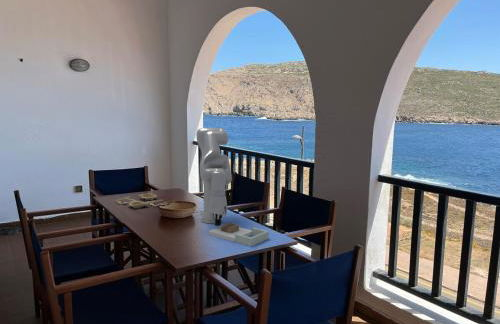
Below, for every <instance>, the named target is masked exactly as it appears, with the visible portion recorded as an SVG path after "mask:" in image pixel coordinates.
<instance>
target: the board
mask: <svg viewBox="0 0 500 324" xmlns="http://www.w3.org/2000/svg"><path fill="white" fill-rule="evenodd" d="M235 234H240V235H243V236H247V237H250V236H253V235H252V229H247V228H243V227H240V226H239V230H238V231H236V232H233V233H227V232H224V231H221V226H218V227H216V228H213V229H212V230H211V229H210V230H209V231H208V235H210V236H213V237H216V238H220V239H224V240H226V241H230V242H233V243H236V242H235Z"/></svg>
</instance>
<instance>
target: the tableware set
mask: <svg viewBox="0 0 500 324" xmlns="http://www.w3.org/2000/svg"><path fill="white" fill-rule="evenodd" d="M138 196H139V197H141V199H143V200H144V199H145V200H144V201H140V200H136V199H131V197H128V196H126V197H124V198H120V199H116V200H115V202H116V204H118V205H129V206H130V207H133V208H132V209H142V208H143V207H144V206H146V205H148V204H149V205H150V206H151V205H152V206H151V207H159V206H158V205H159V204H158V205H154V204H153V203H154V202H159V201H164V200H163V199H157V200H151V199H155V198H157V196H158V195H157V194H154V192H148V193H142V194H138ZM124 200H132V201H130V202H124V203H121V201H124ZM146 200H151V201H146ZM141 207H142V208H141Z"/></svg>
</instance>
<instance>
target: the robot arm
mask: <svg viewBox="0 0 500 324" xmlns="http://www.w3.org/2000/svg"><path fill="white" fill-rule="evenodd" d="M195 135H196V143H197V145H198V147H199V149H200V151H201V159H200V163H199V175H200V179H201V181H202V184H203V211H201V212H200V213H199V215H200V216H201V218H200V221H201V222H202V223H205V224H214V226H216V227H221V225H222V221H223V218H224V217H226V216H227V212H228V201H227V196H226V185H229V184H231V182H232V180H233V178H232V176H233V175H232V171H231V164H230V159H229V157H228V155H226V154H222V153H221V149H220V146H222V145H224V146H226V145H227V144H228V143H229V135H228V132H227V131H226V130H225V129H224V128H222V127H202V128H198V129H197V130H196V134H195Z"/></svg>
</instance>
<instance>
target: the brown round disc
mask: <svg viewBox="0 0 500 324" xmlns="http://www.w3.org/2000/svg"><path fill="white" fill-rule="evenodd" d="M220 227H221V231H224V232H227V233H233V232H236V231H238V230H239V227H240V224H236V223H233V222H226V223H224V224H221V225H220Z"/></svg>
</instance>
